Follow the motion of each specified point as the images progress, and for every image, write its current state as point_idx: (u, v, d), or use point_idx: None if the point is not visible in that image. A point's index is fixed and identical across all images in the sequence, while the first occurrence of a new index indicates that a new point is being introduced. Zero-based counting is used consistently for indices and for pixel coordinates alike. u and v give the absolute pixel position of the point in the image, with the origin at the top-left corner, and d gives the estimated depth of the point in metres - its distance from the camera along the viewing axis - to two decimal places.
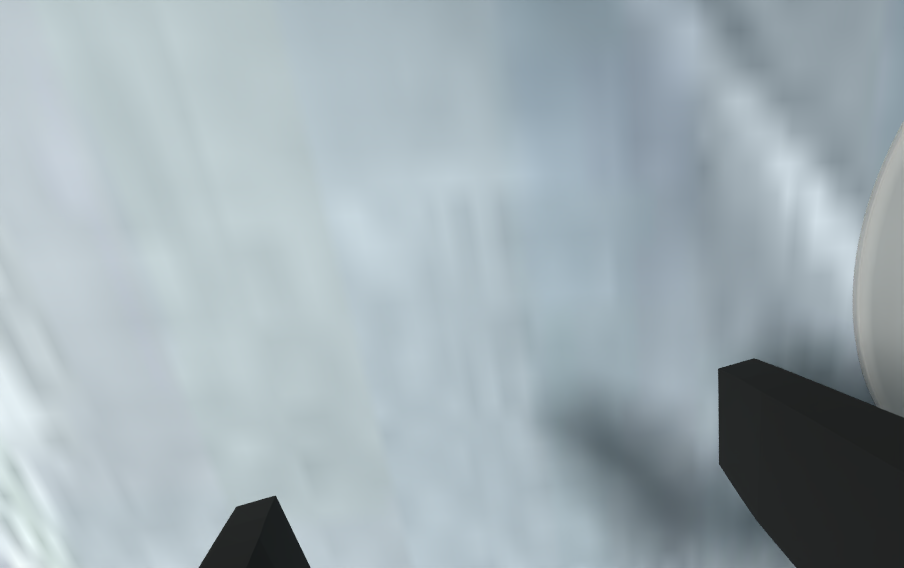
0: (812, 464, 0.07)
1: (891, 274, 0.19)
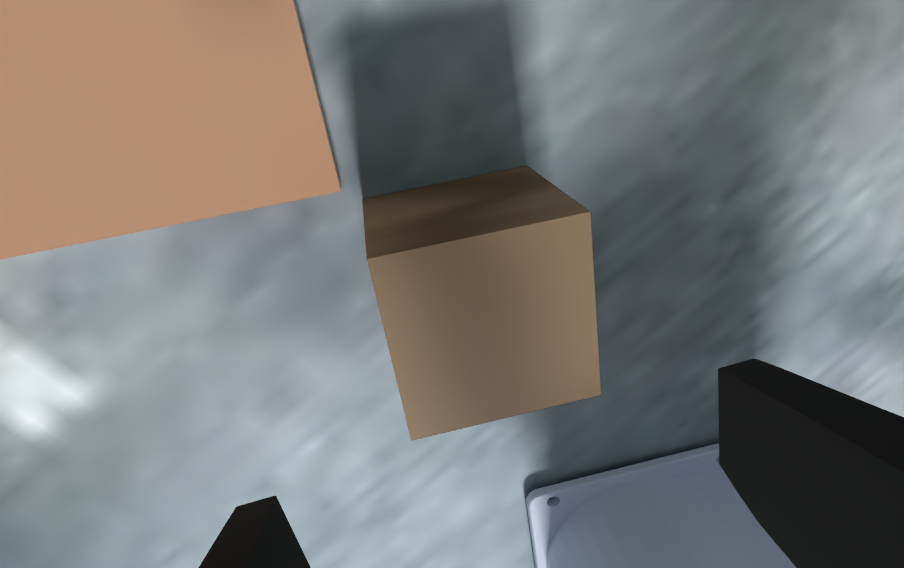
0: (812, 464, 0.07)
1: None
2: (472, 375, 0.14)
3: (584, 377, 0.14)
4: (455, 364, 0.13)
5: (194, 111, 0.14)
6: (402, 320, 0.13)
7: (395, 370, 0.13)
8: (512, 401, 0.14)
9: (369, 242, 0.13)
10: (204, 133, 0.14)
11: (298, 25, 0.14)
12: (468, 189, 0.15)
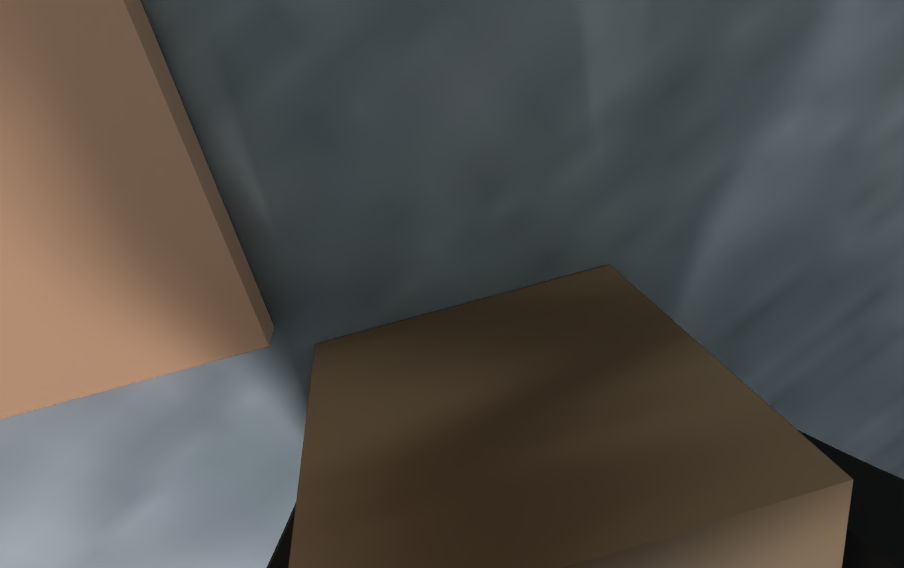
0: None
1: None
2: None
3: None
4: None
5: None
6: None
7: None
8: None
9: (299, 545, 0.05)
10: None
11: (137, 38, 0.06)
12: (512, 336, 0.08)
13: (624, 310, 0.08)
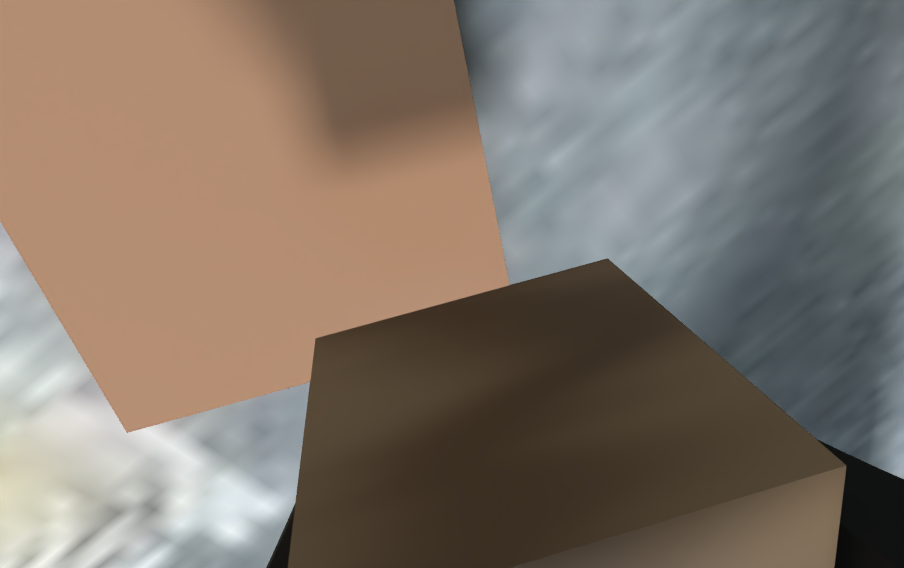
0: None
1: None
2: None
3: None
4: None
5: (396, 270, 0.16)
6: None
7: None
8: None
9: (300, 533, 0.05)
10: (404, 288, 0.16)
11: (490, 193, 0.15)
12: (510, 329, 0.08)
13: (622, 303, 0.08)
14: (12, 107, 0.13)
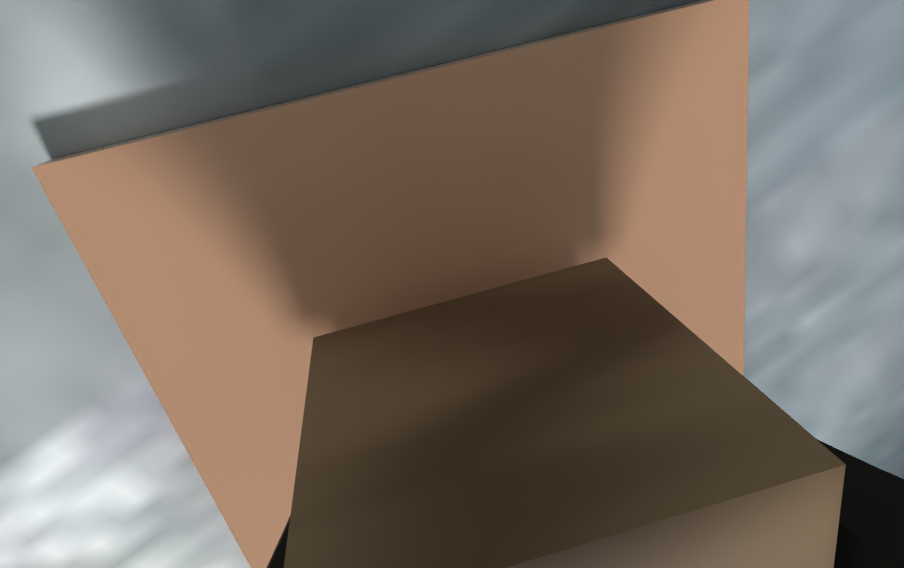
0: None
1: None
2: None
3: None
4: None
5: None
6: None
7: None
8: None
9: (296, 532, 0.05)
10: None
11: (743, 367, 0.13)
12: (509, 328, 0.08)
13: (621, 302, 0.08)
14: (207, 304, 0.10)
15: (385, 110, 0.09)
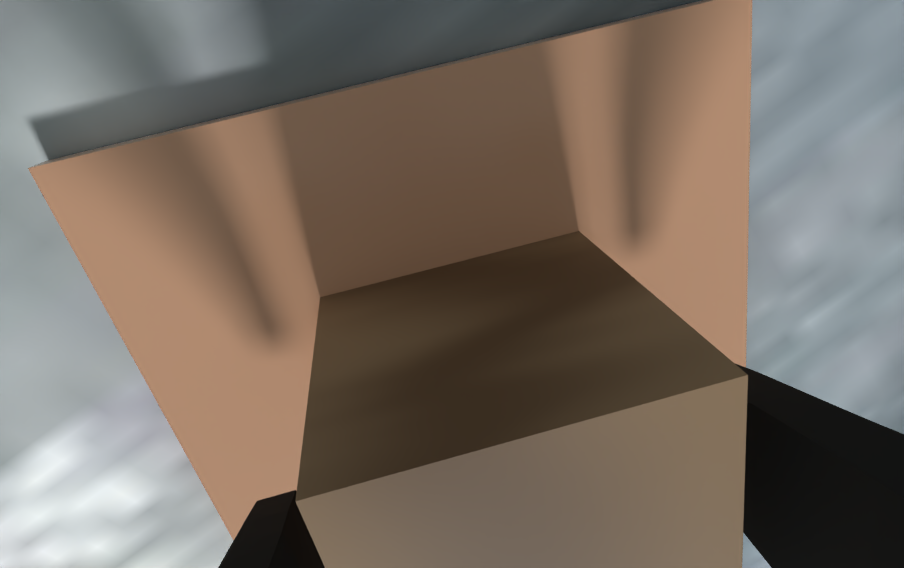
0: (790, 471, 0.07)
1: None
2: None
3: None
4: None
5: None
6: None
7: None
8: None
9: (310, 435, 0.07)
10: None
11: None
12: (490, 286, 0.09)
13: (587, 265, 0.09)
14: (205, 306, 0.10)
15: (385, 110, 0.09)
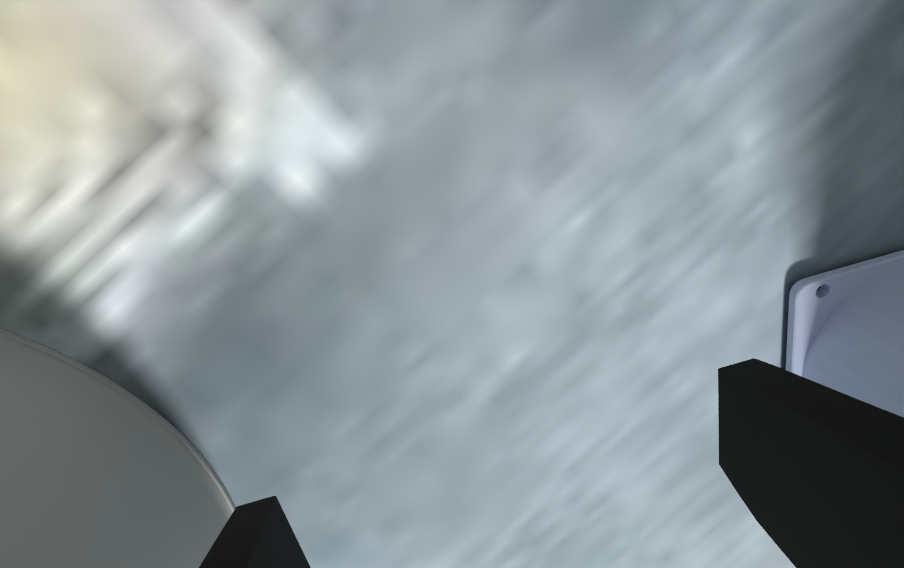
0: (812, 464, 0.07)
1: None
2: None
3: None
4: None
5: None
6: None
7: None
8: None
9: None
10: None
11: None
12: None
13: None
14: None
15: None
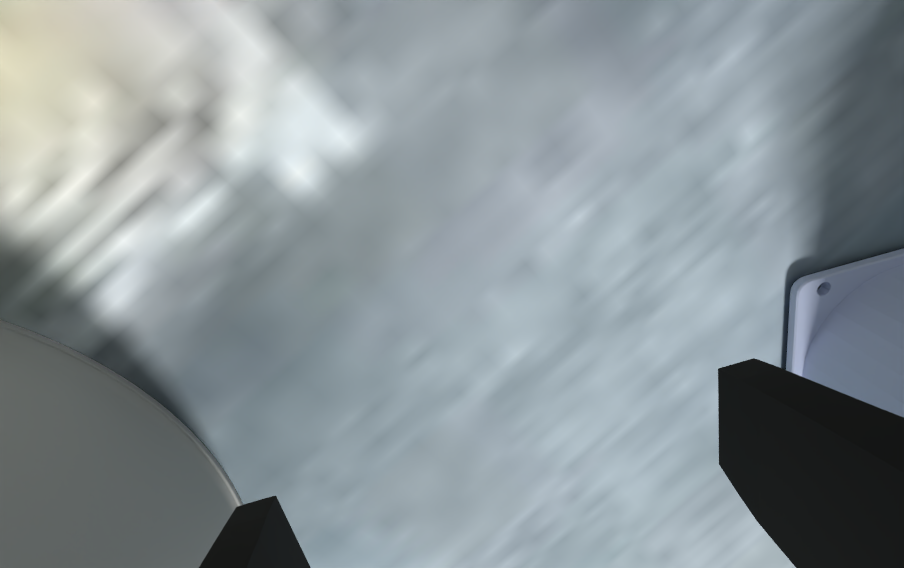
0: (812, 464, 0.07)
1: None
2: None
3: None
4: None
5: None
6: None
7: None
8: None
9: None
10: None
11: None
12: None
13: None
14: None
15: None
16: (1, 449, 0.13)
